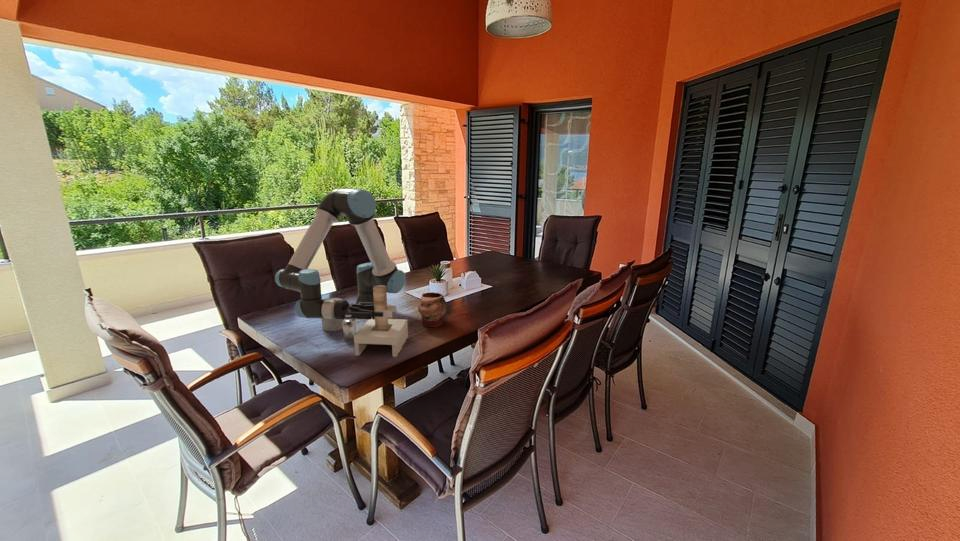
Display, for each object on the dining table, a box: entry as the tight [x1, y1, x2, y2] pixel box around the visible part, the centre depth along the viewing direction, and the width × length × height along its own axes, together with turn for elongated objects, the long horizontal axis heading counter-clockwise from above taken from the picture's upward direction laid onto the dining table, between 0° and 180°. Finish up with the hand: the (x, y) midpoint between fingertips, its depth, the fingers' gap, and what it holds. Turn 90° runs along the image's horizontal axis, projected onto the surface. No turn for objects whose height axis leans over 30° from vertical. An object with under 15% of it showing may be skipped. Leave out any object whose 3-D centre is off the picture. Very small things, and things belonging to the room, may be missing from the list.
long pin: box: [373, 285, 389, 331], centre depth 151 cm, size 5×5×22 cm
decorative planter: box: [417, 292, 448, 328], centre depth 177 cm, size 20×12×14 cm, turn 168°
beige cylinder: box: [320, 297, 344, 332], centre depth 171 cm, size 10×10×12 cm
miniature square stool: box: [353, 318, 409, 358], centre depth 153 cm, size 18×16×8 cm
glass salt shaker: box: [342, 319, 357, 342], centre depth 160 cm, size 5×5×8 cm
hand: (394, 311), depth 150 cm, fingers open, 5 cm apart
